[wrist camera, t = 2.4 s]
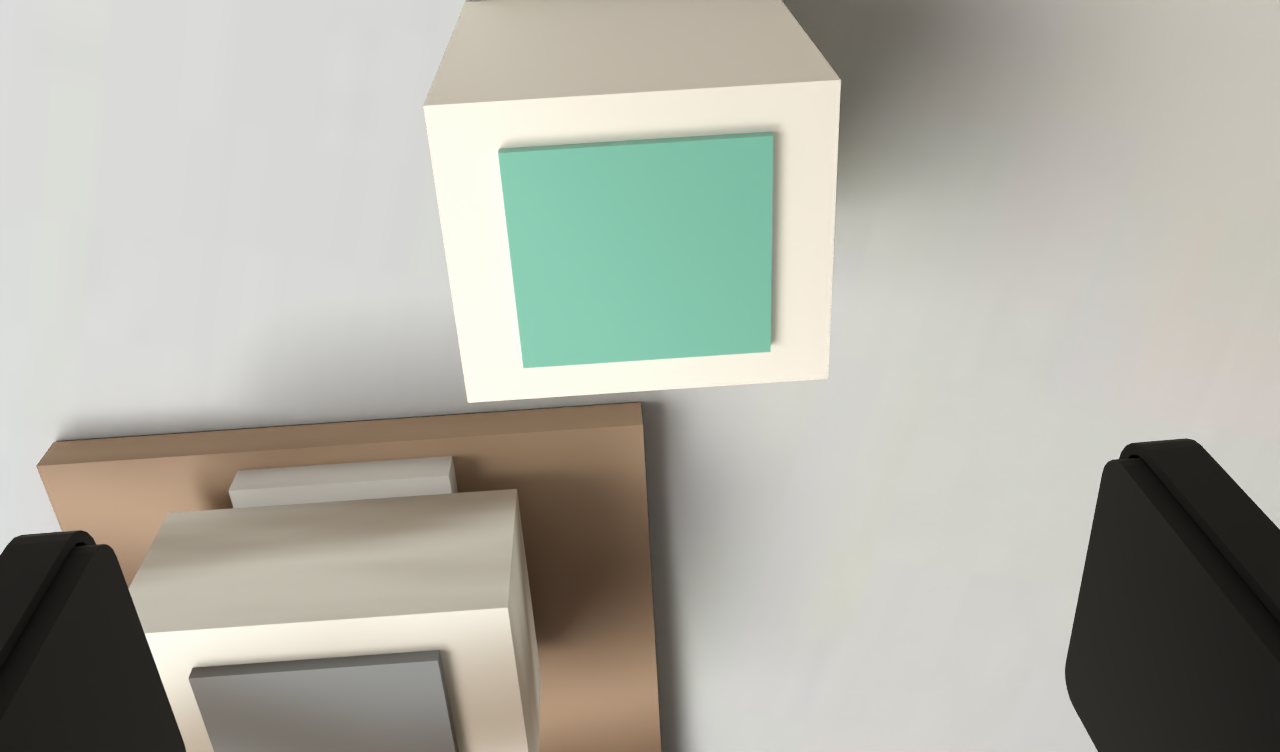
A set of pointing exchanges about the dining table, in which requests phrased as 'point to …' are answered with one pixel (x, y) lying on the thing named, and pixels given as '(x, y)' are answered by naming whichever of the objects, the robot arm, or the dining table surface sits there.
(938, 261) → the dining table surface
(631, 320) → the module block
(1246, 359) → the dining table surface
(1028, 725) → the dining table surface
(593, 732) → the board
